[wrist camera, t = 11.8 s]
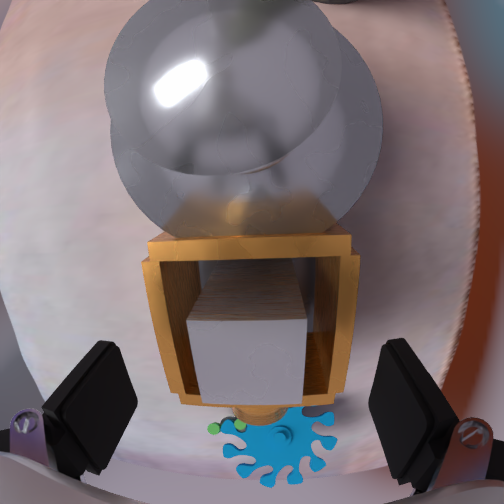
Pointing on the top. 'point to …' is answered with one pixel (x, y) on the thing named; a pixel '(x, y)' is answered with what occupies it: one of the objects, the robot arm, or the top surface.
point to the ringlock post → (245, 165)
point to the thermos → (334, 1)
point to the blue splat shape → (277, 443)
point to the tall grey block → (250, 334)
